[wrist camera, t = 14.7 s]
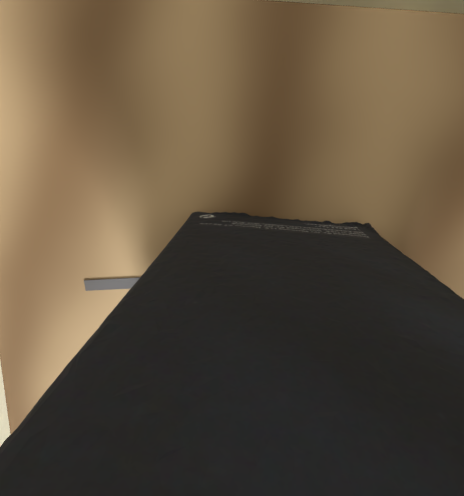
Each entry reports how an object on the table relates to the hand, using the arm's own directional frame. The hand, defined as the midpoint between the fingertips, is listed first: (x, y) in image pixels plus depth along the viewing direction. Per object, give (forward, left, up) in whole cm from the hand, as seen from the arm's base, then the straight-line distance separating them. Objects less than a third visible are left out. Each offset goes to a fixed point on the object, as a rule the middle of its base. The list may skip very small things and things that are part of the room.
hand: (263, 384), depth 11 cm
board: (+1, 0, -4) cm, 4 cm away
